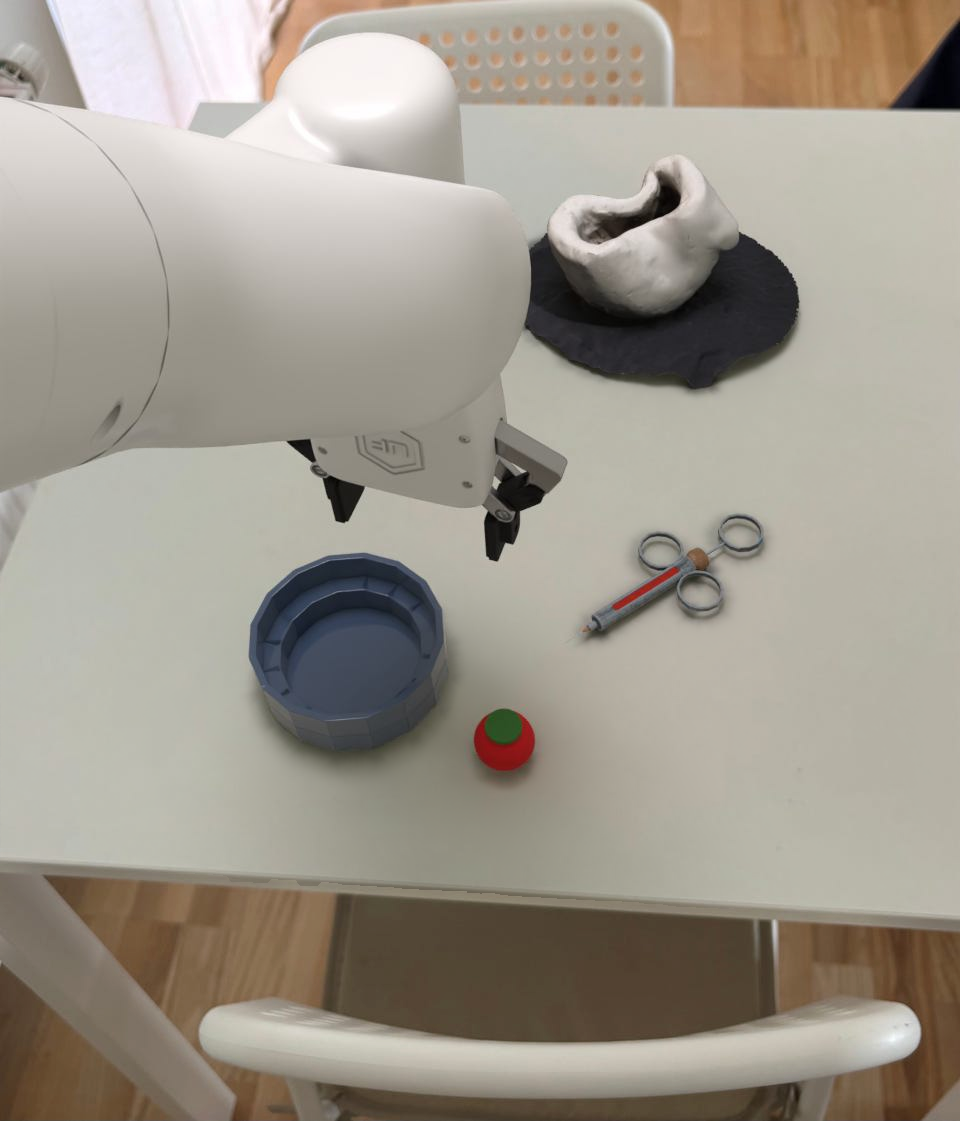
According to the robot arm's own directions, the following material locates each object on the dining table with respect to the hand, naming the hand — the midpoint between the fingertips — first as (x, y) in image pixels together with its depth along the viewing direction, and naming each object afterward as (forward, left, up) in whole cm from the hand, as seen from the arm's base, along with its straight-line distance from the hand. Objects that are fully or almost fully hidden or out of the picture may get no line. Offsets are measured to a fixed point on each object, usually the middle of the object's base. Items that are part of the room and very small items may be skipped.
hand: (424, 523), depth 67 cm
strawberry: (-7, -7, -14) cm, 17 cm away
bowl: (-4, +5, -14) cm, 16 cm away
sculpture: (+39, -6, -15) cm, 42 cm away
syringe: (+9, -14, -15) cm, 22 cm away
